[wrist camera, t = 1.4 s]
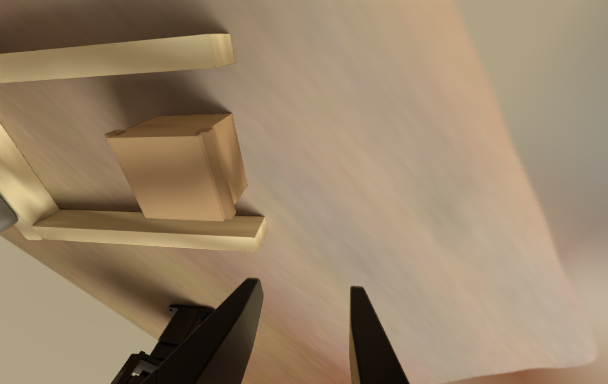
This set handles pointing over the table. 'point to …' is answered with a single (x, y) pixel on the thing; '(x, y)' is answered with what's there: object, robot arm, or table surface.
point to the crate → (182, 166)
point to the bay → (112, 224)
